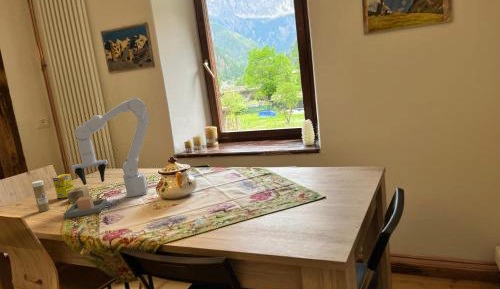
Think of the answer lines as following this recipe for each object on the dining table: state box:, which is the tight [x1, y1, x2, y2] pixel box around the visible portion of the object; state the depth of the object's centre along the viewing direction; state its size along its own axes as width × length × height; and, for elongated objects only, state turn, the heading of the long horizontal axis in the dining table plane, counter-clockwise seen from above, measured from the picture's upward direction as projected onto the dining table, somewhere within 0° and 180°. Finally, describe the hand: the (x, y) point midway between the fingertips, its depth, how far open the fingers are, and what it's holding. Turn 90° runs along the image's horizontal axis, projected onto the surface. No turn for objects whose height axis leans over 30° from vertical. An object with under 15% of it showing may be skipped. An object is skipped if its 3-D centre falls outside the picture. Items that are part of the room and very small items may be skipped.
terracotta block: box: [76, 194, 94, 211], centre depth 162 cm, size 5×5×5 cm
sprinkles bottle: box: [31, 180, 51, 213], centre depth 171 cm, size 5×5×14 cm
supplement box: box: [52, 173, 75, 200], centre depth 188 cm, size 6×6×11 cm
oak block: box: [67, 185, 90, 204], centre depth 182 cm, size 7×7×5 cm
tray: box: [63, 198, 108, 220], centre depth 162 cm, size 14×12×2 cm
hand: (94, 182), depth 170 cm, fingers open, 7 cm apart
